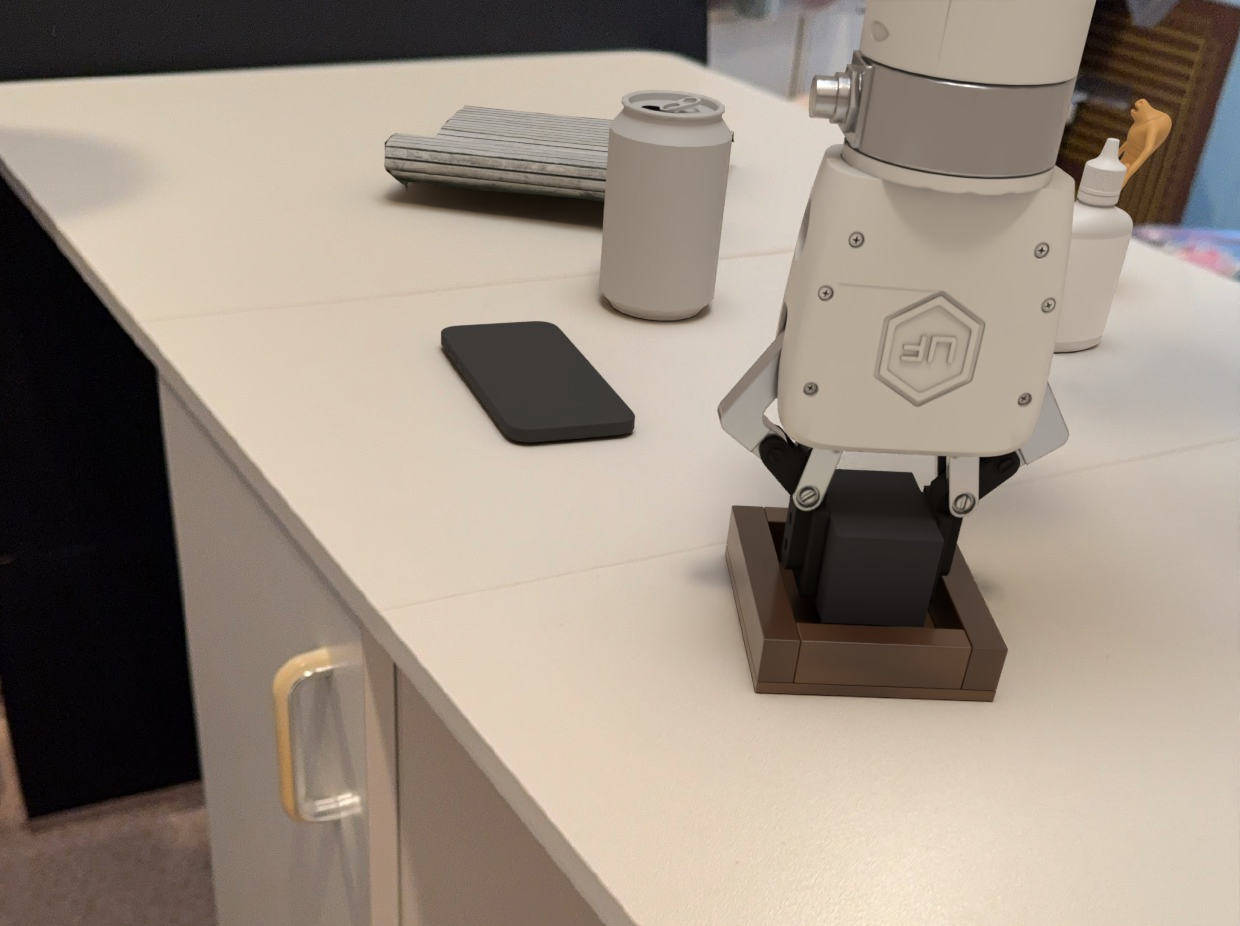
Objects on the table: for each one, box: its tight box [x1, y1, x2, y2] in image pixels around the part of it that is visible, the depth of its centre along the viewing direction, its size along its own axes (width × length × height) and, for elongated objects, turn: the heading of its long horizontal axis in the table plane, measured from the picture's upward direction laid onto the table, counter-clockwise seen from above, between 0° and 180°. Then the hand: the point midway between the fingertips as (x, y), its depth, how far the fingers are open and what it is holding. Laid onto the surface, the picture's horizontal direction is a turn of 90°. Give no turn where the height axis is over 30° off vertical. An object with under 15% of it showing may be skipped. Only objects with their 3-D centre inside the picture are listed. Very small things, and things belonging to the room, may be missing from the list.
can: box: [598, 89, 733, 322], centre depth 90 cm, size 8×8×12 cm
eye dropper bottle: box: [1053, 137, 1134, 353], centre depth 89 cm, size 4×6×12 cm
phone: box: [440, 320, 636, 443], centre depth 82 cm, size 7×1×15 cm
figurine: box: [1118, 98, 1173, 191], centre depth 99 cm, size 8×6×12 cm
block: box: [813, 468, 944, 627], centre depth 62 cm, size 6×4×4 cm
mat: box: [383, 105, 735, 203], centre depth 112 cm, size 23×24×5 cm
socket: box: [724, 504, 1009, 702], centre depth 63 cm, size 10×12×2 cm
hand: (860, 581), depth 63 cm, fingers closed on block, 4 cm apart
